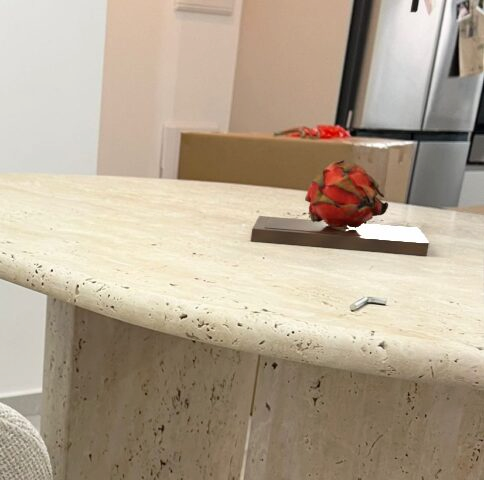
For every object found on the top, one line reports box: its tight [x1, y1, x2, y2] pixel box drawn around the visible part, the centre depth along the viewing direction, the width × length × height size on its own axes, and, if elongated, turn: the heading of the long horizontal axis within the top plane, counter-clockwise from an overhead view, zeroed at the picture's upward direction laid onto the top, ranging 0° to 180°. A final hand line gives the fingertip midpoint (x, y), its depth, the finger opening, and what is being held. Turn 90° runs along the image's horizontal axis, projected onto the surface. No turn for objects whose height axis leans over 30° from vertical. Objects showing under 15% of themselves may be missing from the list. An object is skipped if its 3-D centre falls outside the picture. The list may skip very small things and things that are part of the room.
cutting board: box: [250, 215, 430, 257], centre depth 117 cm, size 20×14×2 cm
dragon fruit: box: [304, 159, 389, 231], centre depth 116 cm, size 8×8×12 cm
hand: (464, 13), depth 134 cm, fingers open, 13 cm apart
